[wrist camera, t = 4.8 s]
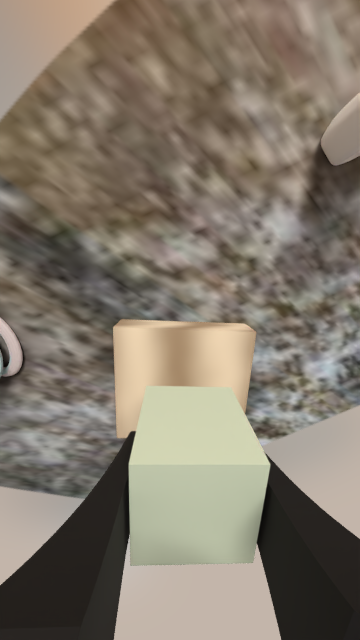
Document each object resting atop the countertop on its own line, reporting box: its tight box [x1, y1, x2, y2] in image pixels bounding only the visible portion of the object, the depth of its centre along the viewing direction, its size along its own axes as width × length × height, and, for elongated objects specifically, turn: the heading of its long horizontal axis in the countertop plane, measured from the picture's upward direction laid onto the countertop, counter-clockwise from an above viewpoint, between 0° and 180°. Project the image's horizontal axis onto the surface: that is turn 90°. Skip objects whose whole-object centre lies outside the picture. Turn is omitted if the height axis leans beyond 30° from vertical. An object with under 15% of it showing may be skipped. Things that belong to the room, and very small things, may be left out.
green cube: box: [129, 386, 270, 566], centre depth 10 cm, size 5×5×5 cm
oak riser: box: [113, 319, 256, 438], centre depth 18 cm, size 11×10×3 cm
